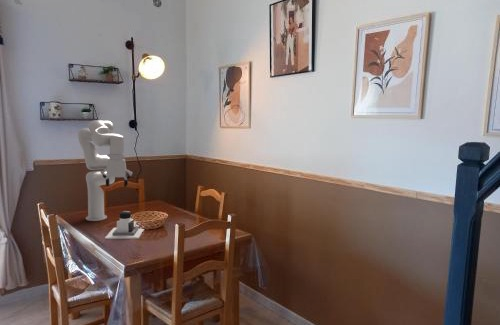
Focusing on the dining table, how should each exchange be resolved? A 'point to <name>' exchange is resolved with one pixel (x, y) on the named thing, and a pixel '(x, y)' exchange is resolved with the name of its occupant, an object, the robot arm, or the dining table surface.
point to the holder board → (125, 234)
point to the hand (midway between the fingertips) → (116, 186)
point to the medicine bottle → (125, 222)
